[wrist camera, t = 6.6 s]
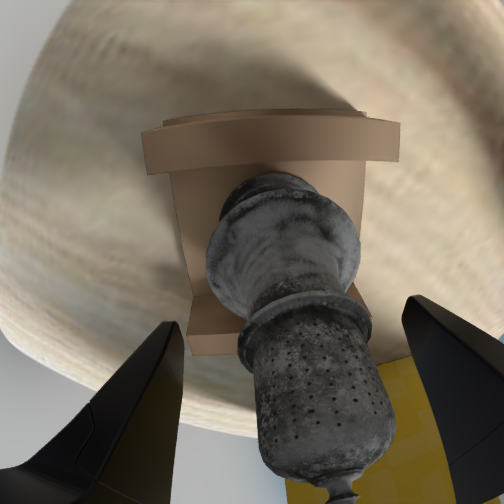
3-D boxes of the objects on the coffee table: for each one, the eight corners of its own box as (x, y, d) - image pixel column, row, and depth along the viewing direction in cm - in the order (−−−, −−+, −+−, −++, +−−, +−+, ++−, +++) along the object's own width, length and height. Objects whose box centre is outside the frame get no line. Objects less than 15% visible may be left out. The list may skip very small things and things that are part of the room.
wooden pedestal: (357, 111, 12) (400, 116, 8) (344, 295, 17) (365, 340, 13) (168, 119, 11) (140, 126, 8) (200, 308, 17) (194, 358, 13)
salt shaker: (223, 154, 12) (159, 516, 1) (349, 182, 12) (546, 403, 2) (205, 269, 14) (177, 529, 4) (313, 284, 15) (383, 509, 5)
